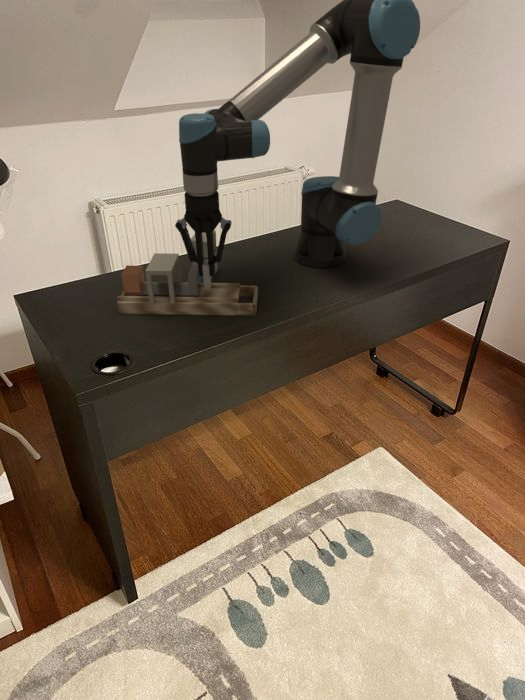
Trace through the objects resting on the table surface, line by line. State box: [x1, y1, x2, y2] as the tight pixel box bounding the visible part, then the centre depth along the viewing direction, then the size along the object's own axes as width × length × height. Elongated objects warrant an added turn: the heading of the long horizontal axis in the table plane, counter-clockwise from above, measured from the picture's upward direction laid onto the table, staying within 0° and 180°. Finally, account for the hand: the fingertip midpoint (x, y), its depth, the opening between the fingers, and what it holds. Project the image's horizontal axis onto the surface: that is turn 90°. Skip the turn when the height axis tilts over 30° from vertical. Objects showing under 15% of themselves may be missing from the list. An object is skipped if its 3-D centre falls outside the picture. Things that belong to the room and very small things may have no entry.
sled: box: [120, 264, 202, 297], centre depth 128 cm, size 18×6×6 cm, turn 88°
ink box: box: [190, 229, 218, 283], centre depth 142 cm, size 8×5×12 cm, turn 168°
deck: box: [116, 281, 259, 317], centre depth 130 cm, size 34×10×4 cm, turn 88°
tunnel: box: [144, 252, 182, 304], centre depth 127 cm, size 6×10×8 cm, turn 178°
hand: (207, 287), depth 128 cm, fingers closed
